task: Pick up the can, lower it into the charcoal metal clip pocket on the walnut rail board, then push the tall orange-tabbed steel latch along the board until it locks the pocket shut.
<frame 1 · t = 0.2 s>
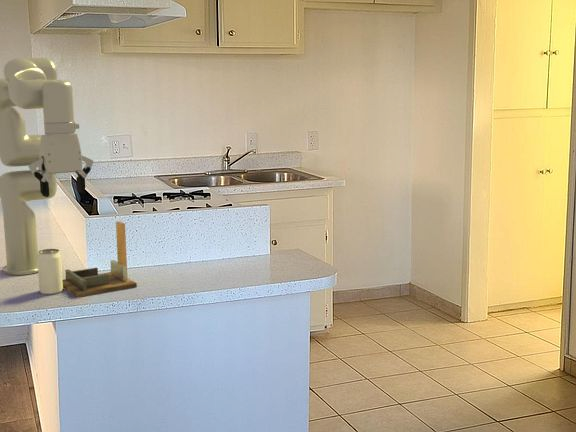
hand: (63, 194, 206), 31 cm above the countertop, tool pointing down, fingers open, 9 cm apart
rail board: (93, 286, 230), on the countertop
latch: (119, 250, 233), point 10 cm above the countertop, slide at 0.0 cm
can holder: (88, 278, 228), on the rail board, point 3 cm above the countertop
can: (51, 292, 225), on the countertop
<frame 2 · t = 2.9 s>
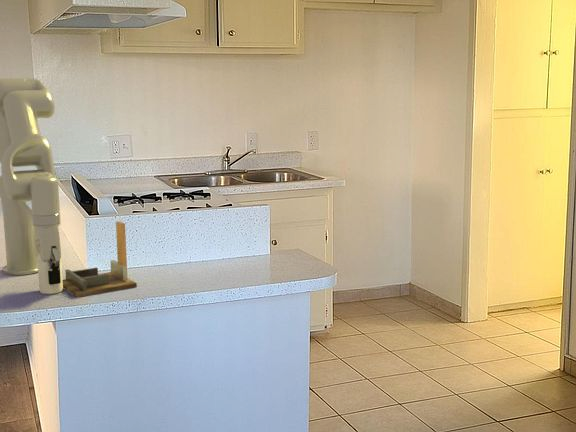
hand: (50, 280, 224), 3 cm above the countertop, tool pointing down, fingers open, 6 cm apart
can: (51, 292, 225), on the countertop, touching gripper
everything else where it was.
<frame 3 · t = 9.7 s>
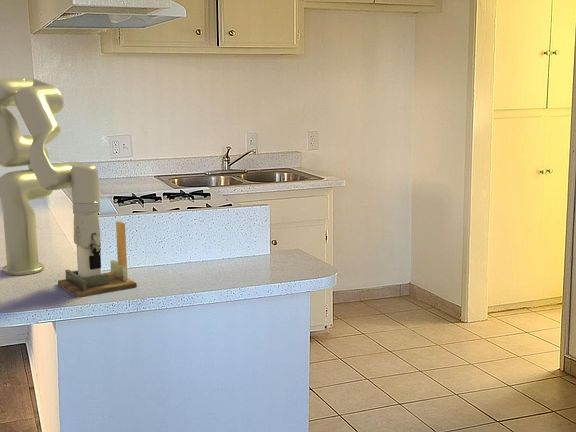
hand: (89, 265, 228), 7 cm above the countertop, tool pointing down, fingers open, 9 cm apart
can: (90, 283, 229), point 1 cm above the countertop, touching rail board
everything else where it was.
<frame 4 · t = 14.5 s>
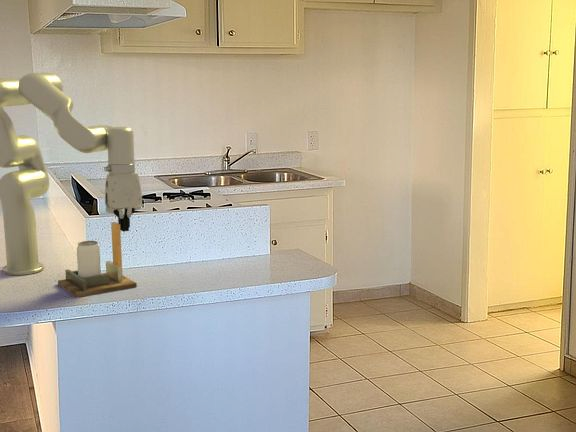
hand: (124, 230, 232), 15 cm above the countertop, tool pointing down, fingers closed
latch: (114, 250, 232), point 10 cm above the countertop, slide at 1.5 cm, touching gripper
everything else where it was.
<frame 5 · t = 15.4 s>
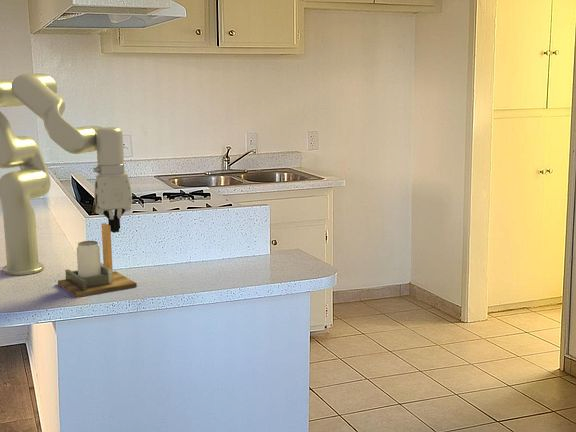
hand: (114, 231, 231), 16 cm above the countertop, tool pointing down, fingers closed
latch: (105, 252, 230), point 10 cm above the countertop, slide at 4.5 cm, touching can holder, gripper
everything else where it was.
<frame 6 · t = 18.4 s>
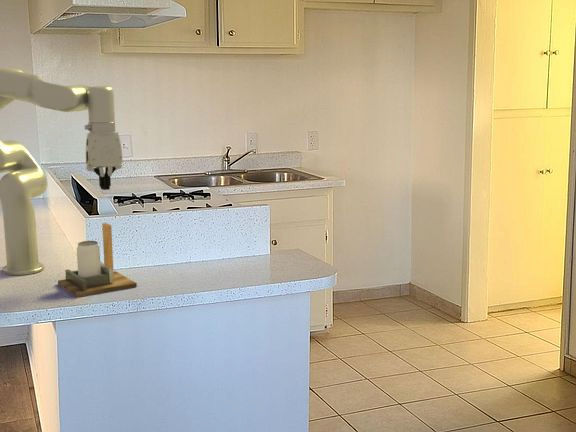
hand: (105, 189, 235), 27 cm above the countertop, tool pointing down, fingers closed
latch: (106, 252, 230), point 10 cm above the countertop, slide at 4.2 cm
everything else where it was.
at the end: can 0.1 cm from the target spot on the can holder, point 1.0 cm above the can holder's base; can tilted 0°; latch slide at 4.2 cm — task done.
